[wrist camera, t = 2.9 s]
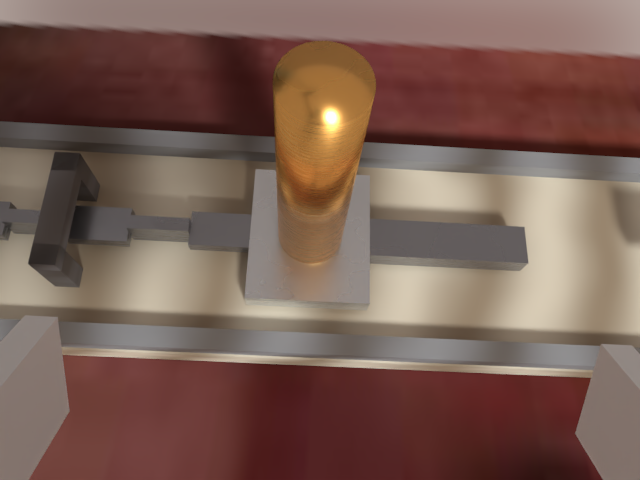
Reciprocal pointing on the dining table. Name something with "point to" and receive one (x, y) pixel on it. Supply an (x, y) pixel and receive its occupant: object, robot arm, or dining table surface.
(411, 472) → the dining table surface
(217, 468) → the dining table surface
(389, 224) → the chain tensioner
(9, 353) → the robot arm
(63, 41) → the dining table surface
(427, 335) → the rail
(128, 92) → the dining table surface
